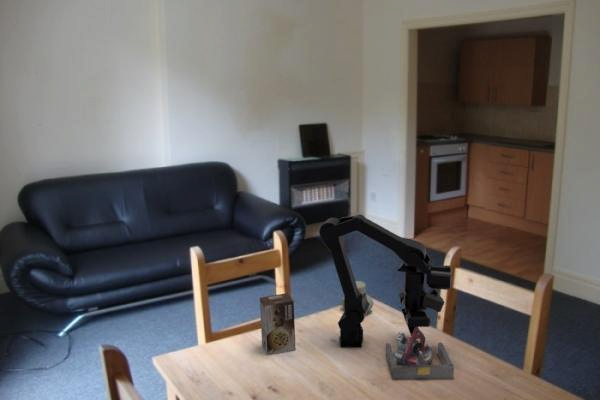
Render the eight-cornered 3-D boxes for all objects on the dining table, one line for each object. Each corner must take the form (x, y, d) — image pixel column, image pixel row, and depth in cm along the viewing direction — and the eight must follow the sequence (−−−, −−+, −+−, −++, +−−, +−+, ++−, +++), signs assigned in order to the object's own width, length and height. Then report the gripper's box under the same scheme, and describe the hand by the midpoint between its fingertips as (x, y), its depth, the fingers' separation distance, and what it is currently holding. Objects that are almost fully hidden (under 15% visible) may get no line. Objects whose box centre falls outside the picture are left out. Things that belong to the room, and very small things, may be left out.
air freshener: (338, 308, 197) (337, 282, 195) (356, 303, 202) (356, 276, 200) (358, 319, 189) (358, 291, 186) (376, 313, 193) (377, 286, 191)
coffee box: (289, 341, 175) (288, 292, 171) (296, 350, 169) (294, 300, 165) (261, 346, 172) (259, 296, 168) (266, 356, 166) (264, 305, 162)
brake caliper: (427, 370, 152) (404, 330, 154) (398, 382, 159) (376, 343, 161) (446, 353, 160) (423, 316, 163) (417, 365, 167) (396, 329, 170)
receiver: (392, 380, 152) (393, 368, 151) (385, 354, 166) (385, 343, 165) (453, 379, 151) (454, 368, 151) (441, 353, 165) (442, 342, 164)
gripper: (449, 298, 153) (447, 351, 157) (435, 274, 171) (433, 321, 175) (408, 299, 154) (407, 351, 157) (399, 274, 172) (397, 321, 175)
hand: (412, 335), depth 166 cm, fingers closed
